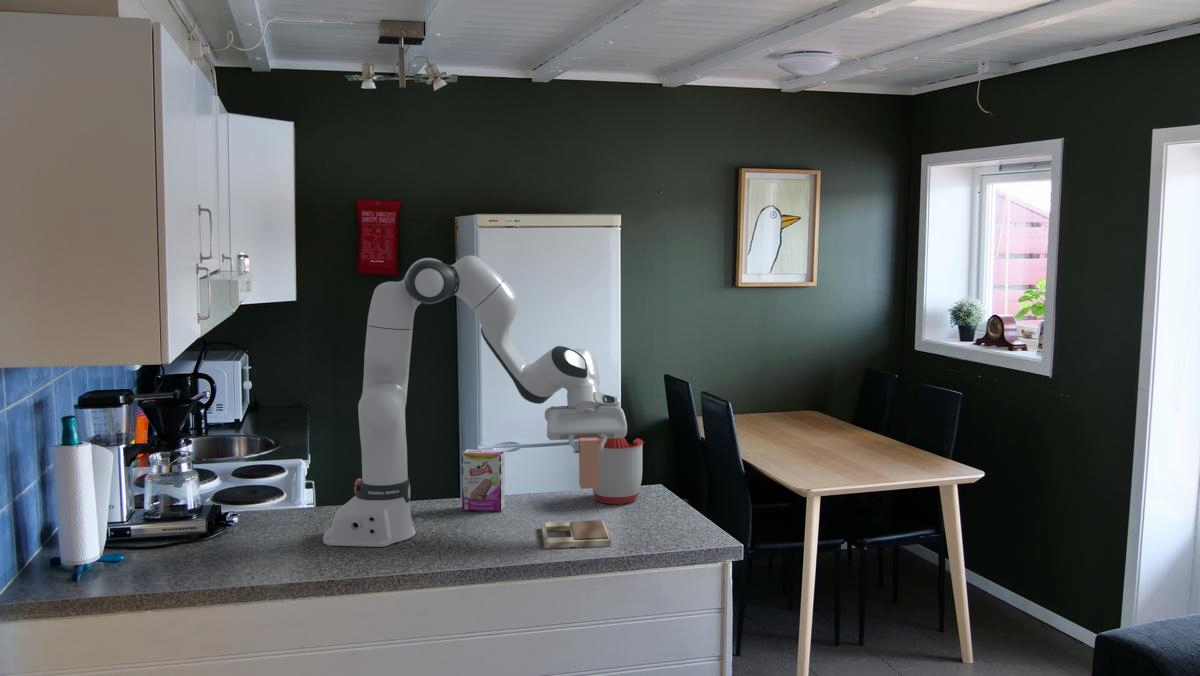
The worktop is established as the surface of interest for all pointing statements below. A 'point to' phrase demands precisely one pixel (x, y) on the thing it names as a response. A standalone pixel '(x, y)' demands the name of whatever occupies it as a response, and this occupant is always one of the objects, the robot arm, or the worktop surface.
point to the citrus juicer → (619, 471)
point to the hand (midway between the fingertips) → (588, 451)
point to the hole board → (575, 534)
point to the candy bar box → (483, 480)
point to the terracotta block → (588, 462)
